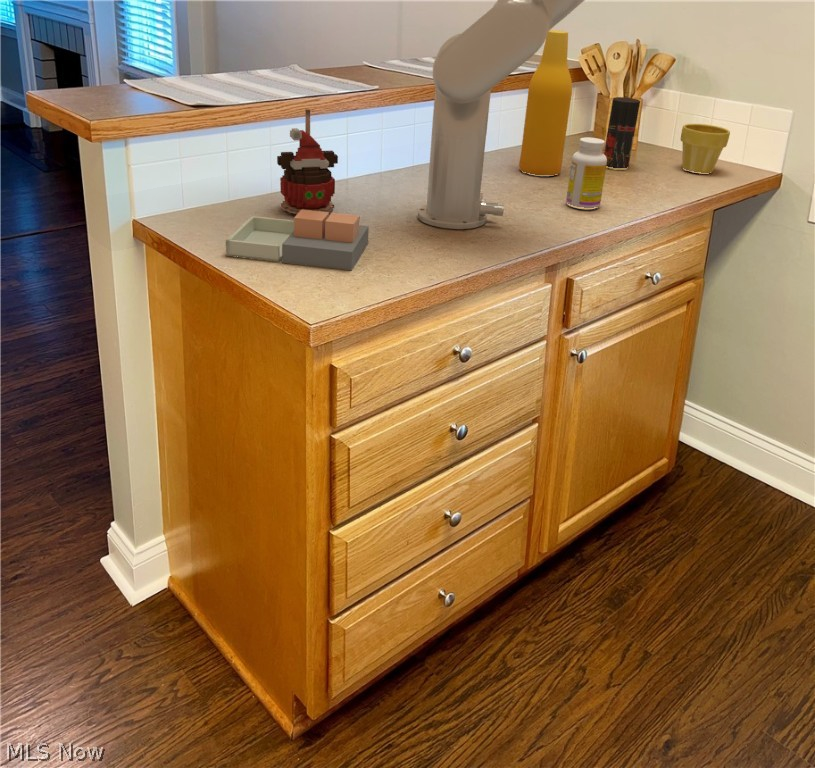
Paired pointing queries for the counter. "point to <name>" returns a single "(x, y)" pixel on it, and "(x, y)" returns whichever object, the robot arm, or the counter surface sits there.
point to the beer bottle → (547, 109)
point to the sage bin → (260, 238)
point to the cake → (307, 174)
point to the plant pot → (702, 146)
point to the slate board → (324, 251)
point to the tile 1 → (310, 224)
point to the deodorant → (621, 131)
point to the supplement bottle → (587, 174)
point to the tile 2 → (342, 227)
